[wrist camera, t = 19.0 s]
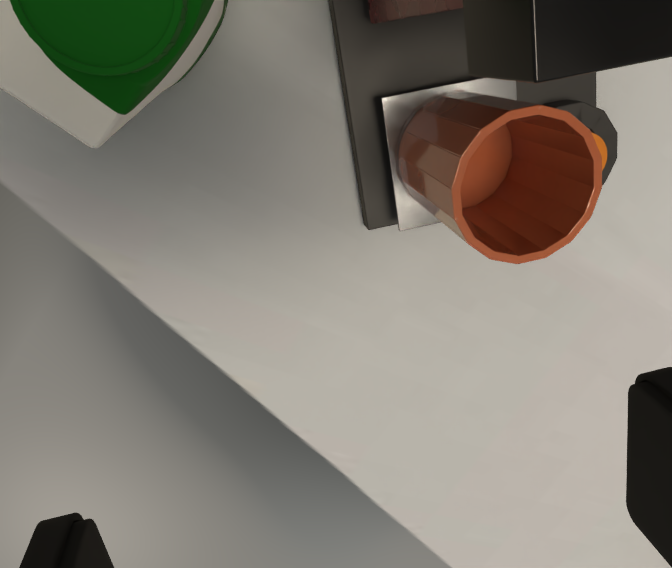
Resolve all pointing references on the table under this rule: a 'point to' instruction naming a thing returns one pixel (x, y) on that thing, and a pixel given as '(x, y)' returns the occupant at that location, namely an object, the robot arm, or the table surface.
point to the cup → (502, 173)
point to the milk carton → (100, 56)
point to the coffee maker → (523, 55)
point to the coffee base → (422, 73)
